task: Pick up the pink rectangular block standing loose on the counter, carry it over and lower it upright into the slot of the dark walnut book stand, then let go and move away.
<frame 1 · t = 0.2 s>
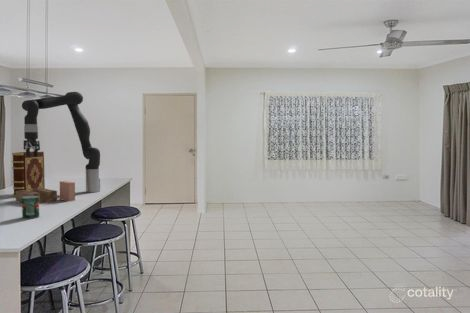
hand: (31, 156, 230), 29 cm above the counter, tool pointing down, fingers open, 8 cm apart
pink rectangular block: (67, 199, 236), on the counter
decorative book: (28, 194, 254), on the counter
canned tomato: (30, 217, 189), on the counter
book stand: (36, 200, 231), on the counter
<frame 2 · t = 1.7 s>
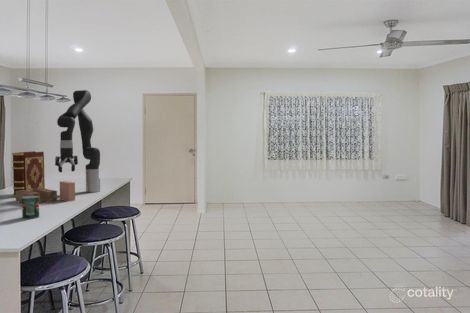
hand: (66, 171, 235), 19 cm above the counter, tool pointing down, fingers open, 8 cm apart
nothing on the counter moved.
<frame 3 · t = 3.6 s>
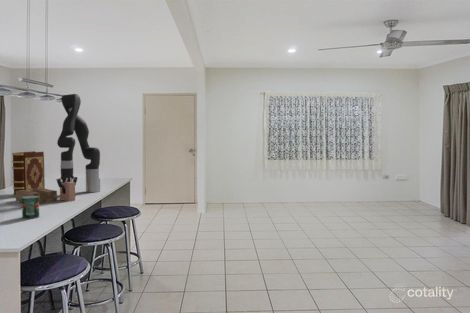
hand: (67, 193, 236), 5 cm above the counter, tool pointing down, fingers closed on pink rectangular block, 4 cm apart
pink rectangular block: (67, 199, 236), on the counter, touching gripper
everything else where it was.
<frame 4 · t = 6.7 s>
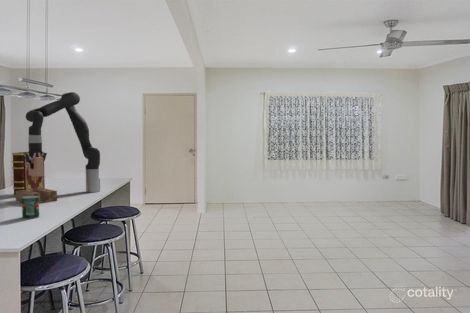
hand: (35, 168, 230), 21 cm above the counter, tool pointing down, fingers closed on pink rectangular block, 4 cm apart
pink rectangular block: (36, 175, 230), point 16 cm above the counter, touching gripper
everything else where it was.
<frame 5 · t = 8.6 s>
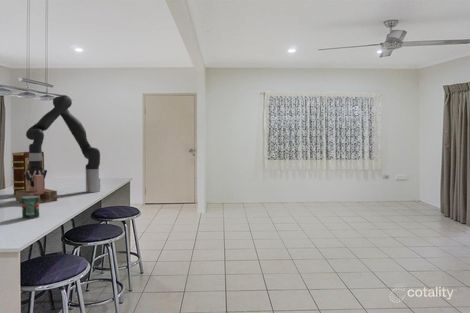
hand: (36, 186, 231), 10 cm above the counter, tool pointing down, fingers closed on pink rectangular block, 4 cm apart
pink rectangular block: (36, 193, 231), point 5 cm above the counter, touching gripper
everything else where it was.
when the fingers open (7 cm above the counter, at t = 9.9 s): pink rectangular block drops 1 cm, resting on book stand.
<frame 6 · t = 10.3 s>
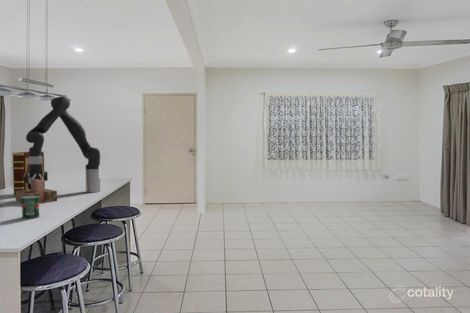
hand: (36, 188, 231), 8 cm above the counter, tool pointing down, fingers open, 7 cm apart
pink rectangular block: (36, 198, 231), point 1 cm above the counter, touching book stand
everything else where it was.
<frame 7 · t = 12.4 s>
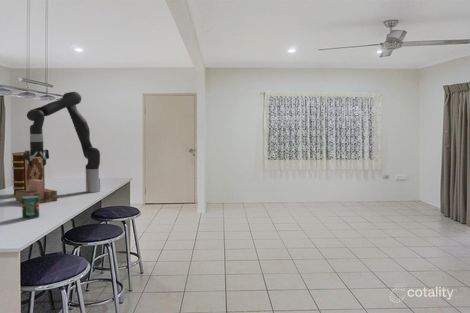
hand: (37, 166, 231), 23 cm above the counter, tool pointing down, fingers open, 8 cm apart
nothing on the counter moved.
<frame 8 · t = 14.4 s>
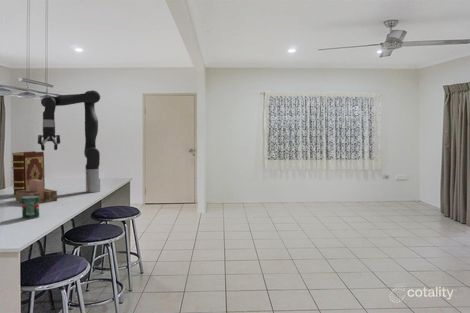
hand: (49, 150, 244), 32 cm above the counter, tool pointing down, fingers open, 8 cm apart
nothing on the counter moved.
at the end: pink rectangular block inside the target area on the book stand (0.1 cm from its centre), point 1.5 cm above the book stand's base; pink rectangular block tilted 0°; the gripper is holding nothing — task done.
